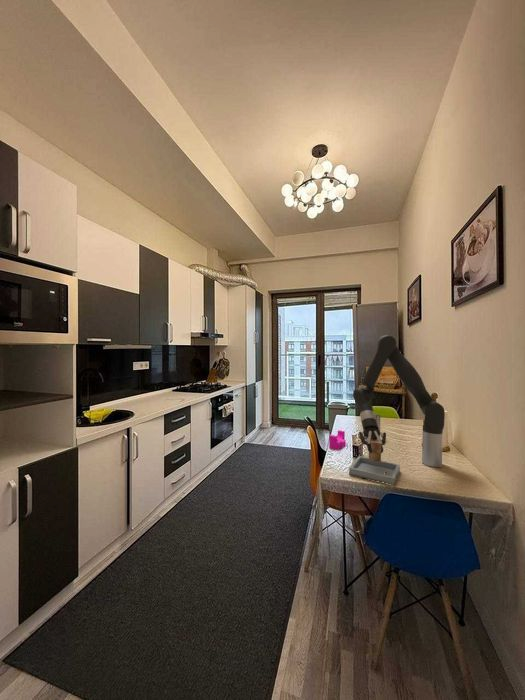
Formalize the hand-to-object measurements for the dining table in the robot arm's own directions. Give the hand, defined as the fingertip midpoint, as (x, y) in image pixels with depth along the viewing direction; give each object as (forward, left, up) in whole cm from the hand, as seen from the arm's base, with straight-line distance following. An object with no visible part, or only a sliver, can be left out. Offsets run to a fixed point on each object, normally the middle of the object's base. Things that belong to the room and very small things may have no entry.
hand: (376, 452), depth 141 cm
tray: (+1, -2, -11) cm, 11 cm away
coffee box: (+14, -57, -11) cm, 59 cm away
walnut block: (+1, -2, -4) cm, 5 cm away
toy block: (+28, -31, -11) cm, 43 cm away
